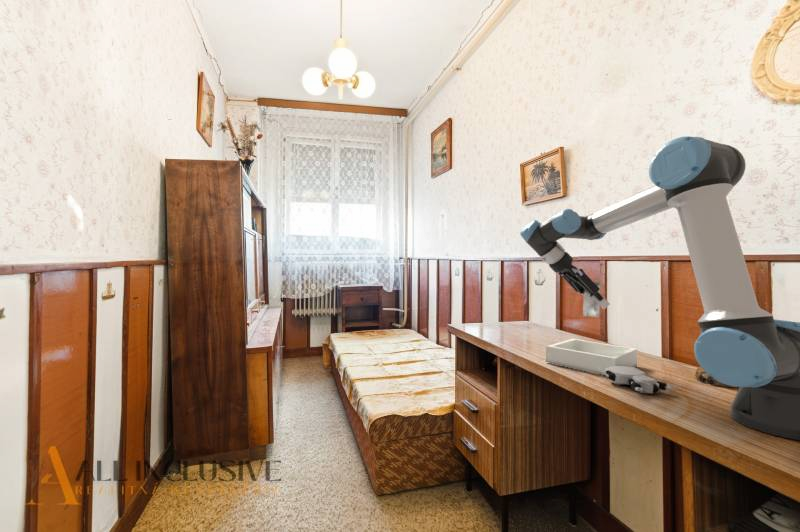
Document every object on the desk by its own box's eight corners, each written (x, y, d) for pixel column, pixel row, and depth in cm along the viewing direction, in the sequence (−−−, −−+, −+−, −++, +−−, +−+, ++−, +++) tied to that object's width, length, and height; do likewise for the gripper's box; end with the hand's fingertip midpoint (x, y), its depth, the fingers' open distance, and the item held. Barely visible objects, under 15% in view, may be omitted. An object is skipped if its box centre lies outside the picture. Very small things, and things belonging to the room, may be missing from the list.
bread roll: (741, 401, 103) (755, 377, 103) (704, 383, 105) (718, 359, 105) (718, 390, 113) (731, 368, 112) (684, 374, 115) (697, 352, 114)
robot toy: (676, 399, 97) (631, 378, 111) (677, 383, 96) (632, 363, 111) (636, 401, 95) (596, 379, 109) (638, 384, 94) (597, 364, 109)
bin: (614, 378, 111) (615, 358, 111) (545, 363, 128) (546, 346, 128) (636, 366, 126) (637, 348, 126) (572, 353, 142) (572, 338, 143)
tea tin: (596, 317, 124) (597, 282, 124) (580, 315, 127) (581, 281, 127) (601, 316, 127) (602, 282, 127) (586, 314, 131) (587, 281, 131)
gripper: (538, 265, 136) (580, 309, 136) (561, 265, 118) (609, 316, 118) (552, 251, 136) (594, 296, 136) (577, 249, 118) (626, 300, 118)
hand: (601, 305), depth 127 cm, fingers closed on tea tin, 5 cm apart
